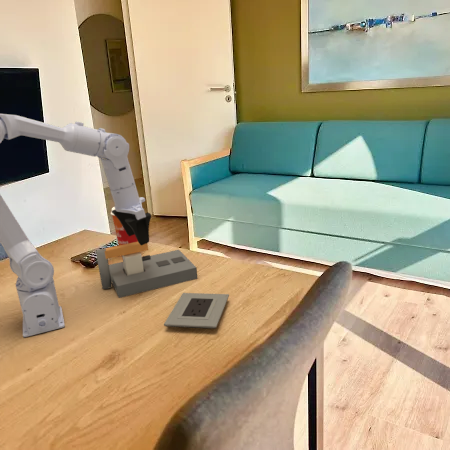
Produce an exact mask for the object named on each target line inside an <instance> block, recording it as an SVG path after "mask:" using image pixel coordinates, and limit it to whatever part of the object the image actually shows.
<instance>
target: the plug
mask: <svg viewBox="0 0 450 450" xmlns="http://www.w3.org/2000/svg"><path fill="white" fill-rule="evenodd" d="M150 256H151V255H150V254H148V255H142V253H141V252H137V253H132V254H128V255H123V256H121V257H122V262H123V264H124V270H125V274H126V276H128V275H132V274H137V273H141V272H144V269H143V262H142V261H146V260H151V257H150Z"/></svg>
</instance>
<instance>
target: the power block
mask: <svg viewBox="0 0 450 450" xmlns="http://www.w3.org/2000/svg"><path fill="white" fill-rule="evenodd" d="M150 257H151V260H146V261H142V262H143V269H144V272H141V273H137V274H132V275H128V276H126V274H125V270H124V264H123V261H120V262H116V263H111V264H109V270H110V276H111V282H112V287H113V288H114V290H115V293H116V295H117V297H118V298H119V299H120V298H124V297H128V296H132V295H137V294H139V293H144V292H145V293H146V292H149V291H153V290H156V289H161V288H165V287H169V286H173V285H177V284H181V283H182V284H183V283H185V282H188V281H189V282H190V281H193V280H197V279H199V278H198V270H197V269H198V268H197V266H196V265H195V264H194V263H192V261H191V260H190V259H189V258H188V257H187V256H186V255H185V254H184V253H183V252H182V251H181V250H180V249H175V250H171V251H165V252H162V253H158V254H157V253H156V254H152V255H150Z"/></svg>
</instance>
